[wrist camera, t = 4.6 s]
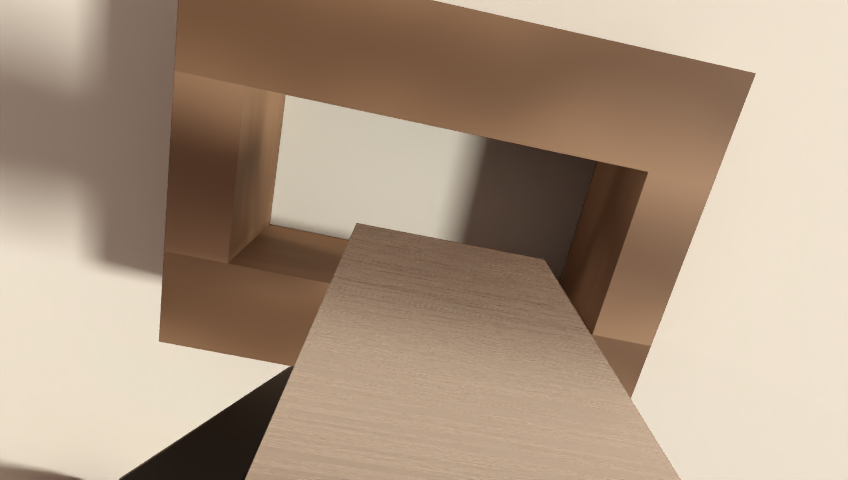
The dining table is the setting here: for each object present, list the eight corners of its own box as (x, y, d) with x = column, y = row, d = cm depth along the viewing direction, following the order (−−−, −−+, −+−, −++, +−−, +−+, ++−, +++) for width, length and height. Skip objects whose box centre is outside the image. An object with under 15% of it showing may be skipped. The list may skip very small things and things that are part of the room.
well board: (583, 359, 22) (619, 427, 18) (213, 288, 21) (159, 341, 17) (680, 74, 19) (755, 73, 14) (241, -25, 18) (181, -57, 14)
